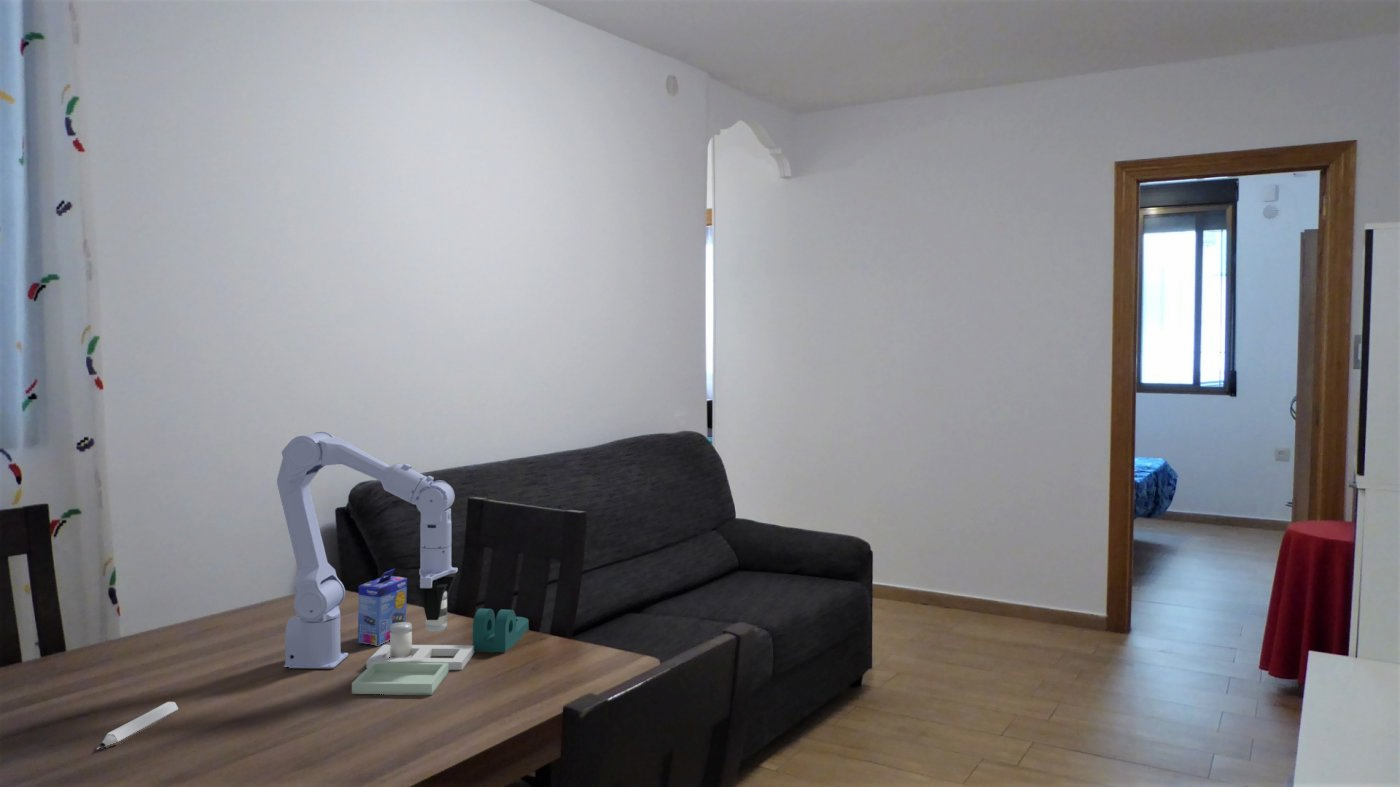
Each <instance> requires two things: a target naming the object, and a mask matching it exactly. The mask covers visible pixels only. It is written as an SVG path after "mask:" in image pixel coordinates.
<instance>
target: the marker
mask: <svg viewBox="0 0 1400 787" xmlns="http://www.w3.org/2000/svg"><path fill="white" fill-rule="evenodd" d="M178 710H179V707H178V705H177V703H176V701H175V702H174V701H166V702H165V703H163V704H161V705H159V706H158V707H156V708H153V709H151V710H149V711H148V712H146V713H144V714H142V715H140V716H139V717H137V718H135V719H132V720H131V721H129V722H127V723H125V724H122V725H121V726H119V727H117V728H115V729H113V730H111V731H110V732H108V733H107V734H106V735H105V737H104V739H103V741H102V742H101V743H100V744H99V745H98V747H97V748H96V750H99V748H100V747H104V746H107V745H110V744H113V743H116V742H119V741H121V740H123V739H125V738H126V737H128V736H130V735H132V734H134V733H136V732H137V731H139V730H141V729H143V728H145V727H147V726H149V725H151V724H152V723H155V722H156V721H158V720H160V719H162V718H164V717H166V716H167V715H169V714H171V713H173V712H175V711H177V712H178Z"/></svg>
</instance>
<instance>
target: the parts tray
mask: <svg viewBox="0 0 1400 787" xmlns="http://www.w3.org/2000/svg"><path fill="white" fill-rule="evenodd" d="M448 675H449V670H448V663H397V662H373V663H372V664H371V665H370V666H369V667H368V668H367V669H366V668H365V669H364V671H363V672H362V673H360V675H358V677H356V679H354V681H352V682H351V695H352V694H353V693H354V694H355V693H357V694H358V693H359V694H380V696H433V694H434V693H435V692H436V690H437V689H438V688H439V687H440V685H441V684H442V682H444V680H445V679H446V677H447V676H448ZM381 694H382V695H381ZM383 694H384V695H383Z"/></svg>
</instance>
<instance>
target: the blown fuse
mask: <svg viewBox="0 0 1400 787" xmlns="http://www.w3.org/2000/svg"><path fill="white" fill-rule="evenodd" d="M424 616H425V617H424V618H425V619H424V620H425V621H424V623H425V624H424V628H425V629H424V630H425V631H426V632H429V633H430V632H431V633H434V632H435V633H437V632H439V633H440V632H443V631H445V630H447V629H448V601H447V591H444V594H443V598H442V603H441V610H440V616H439V619H438V620H427V618H426V615H425V614H424Z"/></svg>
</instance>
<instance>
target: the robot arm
mask: <svg viewBox="0 0 1400 787" xmlns="http://www.w3.org/2000/svg"><path fill="white" fill-rule="evenodd" d="M281 455H282V460H281V464H280V467H279V470H278V475H277V478H276V482H277V483H276V485H277V488H278V492H279V497H280V500H281V506H282V509H283V512H284V513H283V514H284V517H285V521H286V525H287V526H286V527H287V529H288V534H289V538H290V542H291V546H292V549H293V554H294V558H295V563H296V567H297V571H298V572H297V575H296V578H295V581H294V584H293V586H294V591H295V594H294V595H295V596H294V600H293V607H294V611H295V613H296V616H291V617H290V618H289V620H288V621H287V624H286V627H285V632H284V633H285V634H284V642H285V643H284V648H285V650H284V651H285V656H284V658H285V664H284V665H283V668H284V667H289V668H288V669H335V667H337V666H338V665H339V664H340V663H341V662H342V661H343V660H345V659H346V658H347V657H348V656H349V653H348V652H342V650H341V645H342V644H341V610H340V605H341V604H342V603H343V601H344V599H345V596H346V588H345V586H344V584H343V582H342V581H341V580H340V578H338V576H337V572H336V569H335V568H334V567H333V566H332V565H331V564H330V563H329V562H328V558H327V554H326V550H325V545H324V542H323V538H322V534H321V529H320V525H319V520H318V517H317V513H316V510H315V504H314V500H313V496H312V492H311V488H310V483H311V482H312V481H313V479H314V478H315V476H317V474H318V473H319V471H320V470H322V469H323V468H324V467H325V466H330V465H331V466H333V465H334V466H335V465H343V466H346V467H348V468H350V469H352V470H355V471H357V472H359V473H362V474H364V475H366V476H369V477H371V478H373V479H376V480H377V481H380V483H381V485H382V488H383V489H384V491H385V492H388V493H390V494H391V495H393V496H396V497H398V498H400V499H401V500H404V501H405V502H407V503H410V504H412V505H415V506H416V509H417V510H418V512H420V523H419V524H420V525H419V528H420V531H419V532H420V535H419V536H420V545H419V546H420V548H419V550H420V552H419V553H420V557H419V560H420V568H419V576H420V578H419V581H417V583H415V590H416V591H417V594H418V595H419V597H420V600H421V602H422V605H423V606H422V607H423V610H424V616H425V615H426V618H427V620H438V619H439V616H440V610H441V603H442V598H443V594H444V591H447V602H448V600H449V595H450V592H451V589H452V585H453V584H454V582H455V580H456V577H457V576H456V574H457V572H458V571H459V569H458V567H453V566H452V508H451V507H452V505H453V503H454V502H455V499H456V495H455V491H454V488H453V487H452V486H451V485H450V484H449V483H447V482H446V480H440V479H439V480H435V481H434V478H435V477H433V476H431V475H428V476H426V475H424V474H422V473H420V472H418V471H416V470H414V469H412V465H411V464H409V463H407V462H406V463H404V464H402V463H395V464H393V465H390V464H387V463H386V462H384V461H382V460H380V459H378V458H377V457H375V456H373V455H372V454H369V453H367V452H366V451H364V450H363V449H360V448H359V447H357V446H355V445H353V444H352V443H351V442H348V441H347V440H345V439H343V438H342V437H338V436H337V435H336V436H333V435H332V433H330V432H326V431H316V432H315V433H311V434H307V435H299V436H295V437H293V439H291V440H290V441H289V442H288V443H287V444H286V445H285V447H284V448H283V449H282V450H281Z"/></svg>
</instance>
